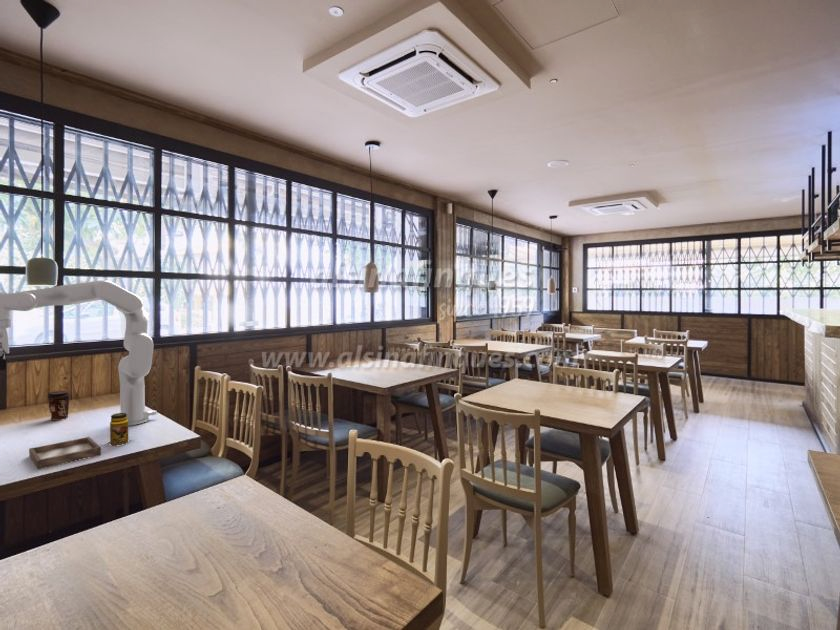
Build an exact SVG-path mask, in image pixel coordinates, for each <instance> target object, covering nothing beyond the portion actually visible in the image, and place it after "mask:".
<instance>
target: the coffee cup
mask: <svg viewBox="0 0 840 630" xmlns="http://www.w3.org/2000/svg"><path fill="white" fill-rule="evenodd" d="M70 396H71V394H70V393H69V391H68V390H56V391H51V392H48V395H47V399H48V408H49V413H50V415H51V416H50V421H52V420H59V421H63V420H62V419H65V420H67V419H68V418H69V405H70ZM66 418H67V419H66Z"/></svg>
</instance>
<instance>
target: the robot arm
mask: <svg viewBox="0 0 840 630" xmlns="http://www.w3.org/2000/svg"><path fill="white" fill-rule="evenodd" d="M101 300H102V301H104V302H105V303H107V304H110V305H112V306H113V307H115V309H116V310H118V311H119V312H121V313H122V314H123V315H124V317H125V331H124V339H123V348H124V349H125V350H127V351H128V355H125V356H124V357H122V358H121V359H120V361H119V363H118V367H117V368H118V369H117V370H118V376H119V389H120V390H119V394H120V397H119V399H120V413H126V414H127V420H128V427H129V426H137V424H138V425H142V424H145V423H146V422H149V419H150V418H149V417H150V416H156V415H157V410H148V411H147V410H146V406H145V405H146V403H145V399H146V397H145V396H146V395H145V392H146V391H145V387H146V385H145V377H146V376H147V375H148V374H149V373H150V371H151V369H152V365H153V356H154V348H155V347H154V340H153V337H151V336H149V335H148V321H149V320H148V318H149V317H148V313H147V311H146V310H145V308H144V307H143V306H144V303H143V300H142V299H141V297H139V296H138V295H136V294H135V293H133V292H131V291H129V290H127V289H125V288H123V287H121V286H119V285H117V284H116V283H114V282H112V281H110V280H94V281H93V280H92V281H87V282H78V283H71V284H62V285H57V286H52V287H46V288H38V289H32V290H31V289H29V290H23V291H16V292H10V293H9V292H8V293H7V292H0V371H6V370H7V360H6V354H9V353H10V342H9V341H10V340H9V331H8V330H9V329H11V327H12V325H11V324H12V322H11V321H12V319H11V311H18V312H28V311H31V310H34V309H38V308H43V307H51V306H71V305H77V304H84V303H89V302H97V301H101ZM144 422H145V423H144ZM141 423H142V424H141Z"/></svg>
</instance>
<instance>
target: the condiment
mask: <svg viewBox="0 0 840 630" xmlns="http://www.w3.org/2000/svg"><path fill="white" fill-rule="evenodd" d="M109 432H110V434H109V436H110V437H109V439H110V441H108V442H105V443H104V445H103V444H101V445H100V447H101V446H104V447H105V446H106V447H107V446H108V447H110V446H109V444H111V445H112V446H111V447H118V446H117V445H122V444H125V445H127V444H129V443H128V440H129V426H128V420H127V414H126V413H121V412H118V413H114V414H111V416H110V422H109ZM131 440H132V441H134V439H131ZM132 441H131V442H132ZM126 443H127V444H126Z"/></svg>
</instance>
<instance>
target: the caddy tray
mask: <svg viewBox="0 0 840 630" xmlns="http://www.w3.org/2000/svg"><path fill="white" fill-rule="evenodd" d="M28 450H29V451H28V457H29V458H30V460H31V461H32V463H33V464H34V466H35V468H36V467H37V468H36V469H37V470H42V469H46V468H50V466H51V467H55V466H59V465H58V464H60V465H63V464H62V463H64V464H67V463H66V462H68V463H71V462H70V461H73V462H76V461H75V460H77V461H80V460H79V459H82V460H84V459H83V458H86V459H89V458H88V457H91V458H94V457H99V456H102V447H101V445H99V444H98V443H97V442H96V441H95V440H94V439H93V438H91V437H90V436H87V437H82V438H76V439H71V440H67V441H61V442H55V443H51V444H47V445H46V444H45V445H41V446H35V447H30V448H28ZM54 465H55V466H54ZM45 467H46V468H45ZM41 468H42V469H41Z"/></svg>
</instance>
